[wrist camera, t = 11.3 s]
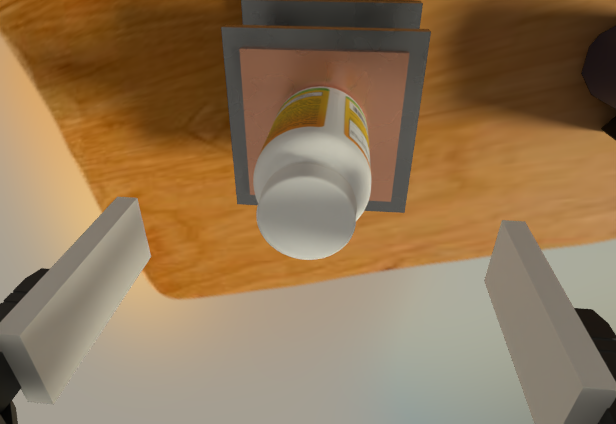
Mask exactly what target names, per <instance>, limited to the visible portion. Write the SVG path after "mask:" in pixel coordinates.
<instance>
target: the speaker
mask: <svg viewBox="0 0 616 424" xmlns="http://www.w3.org/2000/svg"><path fill="white" fill-rule="evenodd" d="M581 74H582V76H583V78H584V80H585V82H586V84H587V86H588V88H589V91H590V93H591V95H593V96H594V97H596V98H598V99H599V100H601V101H603V102H605V103H606V104H608V105H610V106H612V107H613V108H615V109H616V26H614V27H612V28H610V29H609V30H607V31H605V32H603V33H601V34H600V35H599V36H598V37H597V38H596V39H595V40H594V42H593V43H592V44H591V45H590V47H589V49H588V53H587V56H586V59H585V63H584V66H583V70H582V73H581ZM602 130H603V131H604V132H605V133H606V134H608V135H609V136H611V137H612V138H613V139H615V140H616V117H615V118H613V119H612V120H611V121H610V122H609V123H607V124H606V125H605V126H604V127H603V128H602Z"/></svg>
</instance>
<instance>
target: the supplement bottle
mask: <svg viewBox="0 0 616 424" xmlns="http://www.w3.org/2000/svg"><path fill="white" fill-rule="evenodd" d="M253 185H254V192H255V196H256V199H257V202H258V207H257V223H258V227H259V229H260V232H261V234H262V235H263V237H264V238H265V240H266V241H267V242H268V243H269V244H270V245H271V246H272V247H273V248H275V249H276V250H278V251H279V252H281V253H283V254H285V255H287V256H290V257H293V258H297V259H305V260H314V259H321V258H325V257H328V256H330V255H332V254H334V253H336V252H338V251H339V250H341V249H342V248H343V247H344V246H345V245H346V244H347V243H348V242H349V240H350V239H351V237H352V235H353V233H354V230H355V224H356V221H357V220H358V218H359V217H360V216H361V215H362V213H363V212H364V210H365V208H366V206H367V204H368V201H369V198H370V193H371V167H370V151H369V138H368V127H367V122H366V119H365V116H364V113H363V111H362V109H361V108H360V106H359V105H358V104H357V103H356V101H355V100H354V99H353V98H351V97H350V96H349V95H347V94H346V93H344V92H342V91H340V90H338V89H335V88H331V87H324V86H318V87H310V88H306V89H303V90H301V91H299V92H297V93H295V94H294V95H292V96H291V97H290V98H289V99H288V100H287V101H286V102H285V103H284V104H283V105H282V107H281V109H280V110H279V112H278V114H277V116H276V118H275V120H274V123H273V125H272V128H271V130H270V132H269V135H268V137H267V139H266V141H265V143H264V145H263V147H262V150H261V152H260V154H259V157H258V160H257V163H256V166H255V170H254V177H253Z"/></svg>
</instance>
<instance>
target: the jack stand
mask: <svg viewBox="0 0 616 424" xmlns="http://www.w3.org/2000/svg"><path fill="white" fill-rule="evenodd" d="M241 4H242V19H243V25H223V26H222V27H221V31H222V42H223V53H224V64H225V74H226V85H227V96H228V107H229V118H230V129H231V140H232V151H233V162H234V173H235V184H236V195H237V204H246V205H258V202H257V199H256V196H255V192H254V185H253V177H254V170H255V166H256V163H257V160H258V157H259V154H260V152H261V150H262V147H263V145H264V143H265V141H266V139H267V137H268V135H269V132H270V130H271V128H272V125H273V123H274V120H275V118H276V116H277V114H278V112H279V110H280V109H281V107H282V105H283V104H284V103H285V102H286V101H287V100H288V99H289V98H290V97H291V96H292V95H294V94H295V93H297V92H299V91H301V90H303V89H306V88H310V87H318V86H324V87H331V88H335V89H338V90H340V91H342V92H344V93H346V94H347V95H349V96H350V97H351V98H353V99H354V100H355V101H356V103H357V104H358V105H359V106H360V108H361V109H362V111H363V113H364V116H365V119H366V122H367V127H368V138H369V151H370V167H371V193H370V198H369V201H368V204H367V206H366V208H365V210H364V211H382V212H401V213H404V212H405V205H406V198H407V192H408V185H409V178H410V171H411V164H412V157H413V150H414V144H415V137H416V130H417V123H418V116H419V109H420V103H421V96H422V89H423V82H424V75H425V68H426V62H427V55H428V48H429V41H430V34H431V31H430V30H429V29H419V28H420V21H421V13H422V6H423V3H422V2H421V1H383V0H241Z"/></svg>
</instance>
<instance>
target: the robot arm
mask: <svg viewBox="0 0 616 424" xmlns="http://www.w3.org/2000/svg"><path fill="white" fill-rule="evenodd" d="M150 257H151V255H150V251H149V246H148V242H147V238H146V234H145V229H144V225H143V221H142V217H141V212H140V208H139V204H138V200H137V198H128V197H117V198H116V199H115V200H114V201H113V202H112V203H111V204H110V205H109V206H108V207H107V208H106V210H105V211H104V212H103V213H102V214H101V215H100V216H99V217H98V218H97V219H96V220H95V221H94V222H93V224H92V225H91V226H90V227H89V228H88V229H87V230H86V231H85V232H84V233H83V234H82V235H81V236H80V237H79V239H78V240H77V241H76V242H75V243H74V244H73V245H72V246H71V247H70V248H69V249H68V250H67V251H66V253H65V254H64V255H63V256H62V257H61V258H60V259H59V260H58V261H57V262H56V263H55V264H54V265H53V266H52V267H51V268H50V269H40V270H38V271H37V272H35V273H33V274H32V275H30V276H29V277H27V278H25V279H24V280H23V281H22V282H21V283H20V284H19V285H18V286H17V287H16V288H15V289H14V291H13V293H11V294H10V295H9V296H8V297H7V298H6V299H5V300H4V302H3V303H1V304H0V424H18V421H17V413H16V407H15V405H14V403H13V402H12V399H13V398H14V397H15V395H16V394H17V393H18V391H19V390H20V389H21V390H22V392H23V394H24V395H25V397H26V399H27V401H28V402H35V403H45V404H55V402H56V401H57V399H58V398H59V396H60V394H61V393H62V391H63V390H64V388H65V387H66V385H67V384H68V382H69V381H70V379H71V378H72V376H73V375H74V373H75V372H76V370H77V369H78V367H79V366H80V364H81V362H82V361H83V359H84V358H85V356H86V355H87V353H88V352H89V350H90V349H91V347H92V346H93V344H94V342H95V341H96V340H97V338H98V337H99V335H100V334H101V332H102V331H103V329H104V327H105V326H106V324H107V323H108V321H109V320H110V318H111V317H112V315H113V314H114V312H115V311H116V309H117V307H118V306H119V305H120V303H121V302H122V300H123V298H124V297H125V295H126V294H127V292H128V291H129V289H130V288H131V286H132V285H133V283H134V282H135V280H136V279H137V277H138V276H139V274H140V273H141V271H142V270H143V268H144V267H145V265H146V263H147V262H148V260H149V259H150ZM484 281H485V284H486V287H487V290H488V293H489V296H490V298H491V301H492V304H493V307H494V310H495V312H496V315H497V318H498V321H499V324H500V327H501V330H502V332H503V335H504V338H505V341H506V344H507V347H508V350H509V352H510V355H511V358H512V361H513V364H514V367H515V369H516V372H517V375H518V378H519V381H520V383H521V386H522V389H523V392H524V395H525V398H526V401H527V403H528V406H529V409H530V412H531V415H532V418H533V420H534V423H535V424H616V335H615V333H614V332H613V330H612V328H611V327H610V325H609V324H608V323H607V322H606V321H605V320H604V319H603V318H601V317H600V316H599V315H598V314H597V313H596V312H595V311H593V310H591V309H578V308H574V307H573V306H572V304H571V302H570V300H569V298H568V297H567V295H566V293H565V292H564V290H563V288H562V286H561V285H560V283H559V281H558V279H557V277H556V276H555V274H554V272H553V270H552V268H551V267H550V265H549V263H548V261H547V260H546V258H545V256H544V254H543V253H542V251H541V249H540V247H539V246H538V244H537V242H536V240H535V238H534V237H533V235H532V233H531V231H530V230H529V228H528V226H527V224H526V223H525V222H522V221H506V220H502V222H501V226H500V229H499V232H498V236H497V239H496V243H495V246H494V249H493V253H492V256H491V260H490V263H489V267H488V270H487V274H486V277H485V280H484Z"/></svg>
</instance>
